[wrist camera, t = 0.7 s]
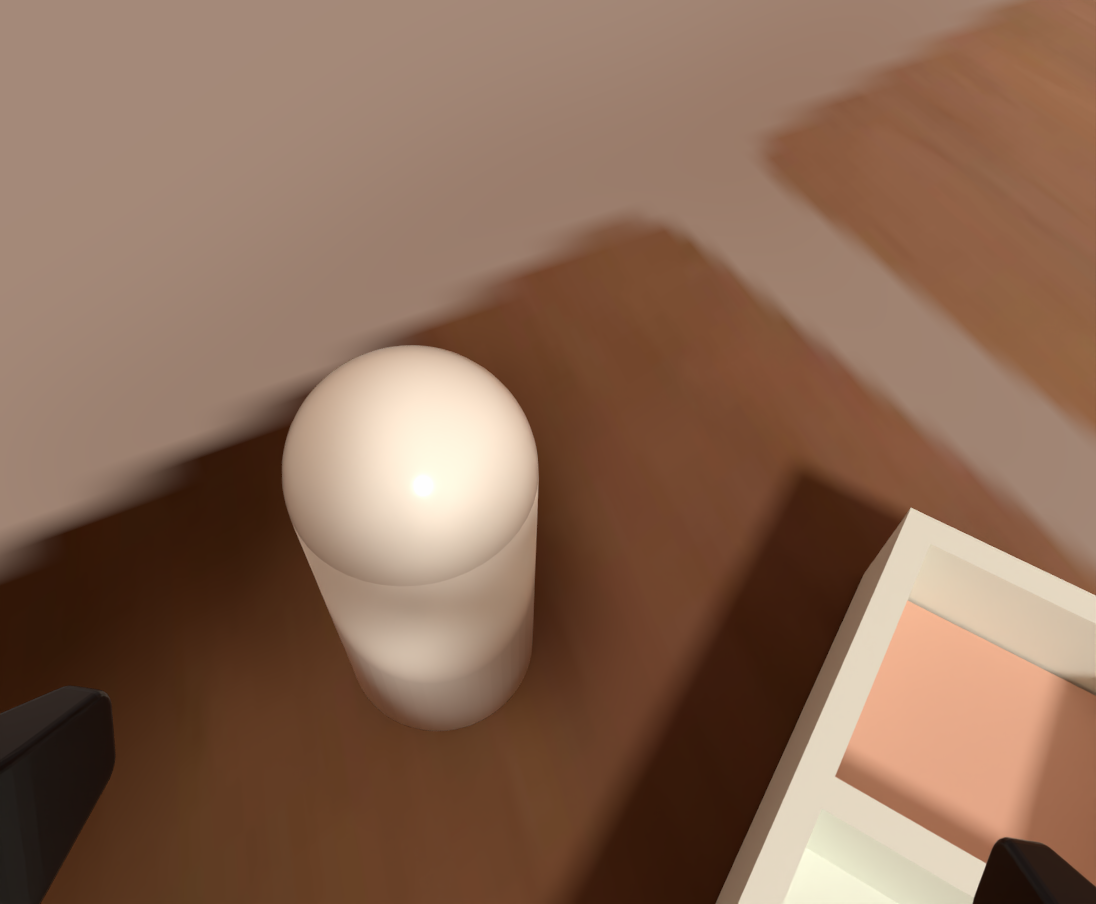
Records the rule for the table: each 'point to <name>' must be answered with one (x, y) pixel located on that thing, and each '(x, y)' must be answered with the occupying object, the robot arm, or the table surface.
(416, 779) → the table surface
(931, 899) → the compartment tray
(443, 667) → the cream capsule cylinder
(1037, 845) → the robot arm
